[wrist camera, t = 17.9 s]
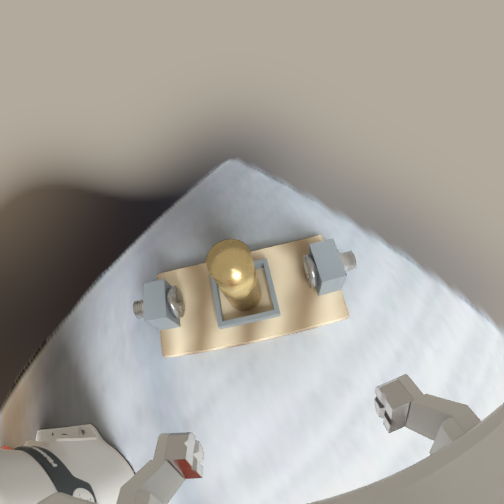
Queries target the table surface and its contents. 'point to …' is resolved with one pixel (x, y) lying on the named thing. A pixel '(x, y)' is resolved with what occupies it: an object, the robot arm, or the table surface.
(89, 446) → the robot arm
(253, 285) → the cylinder
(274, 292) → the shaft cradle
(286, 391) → the table surface
